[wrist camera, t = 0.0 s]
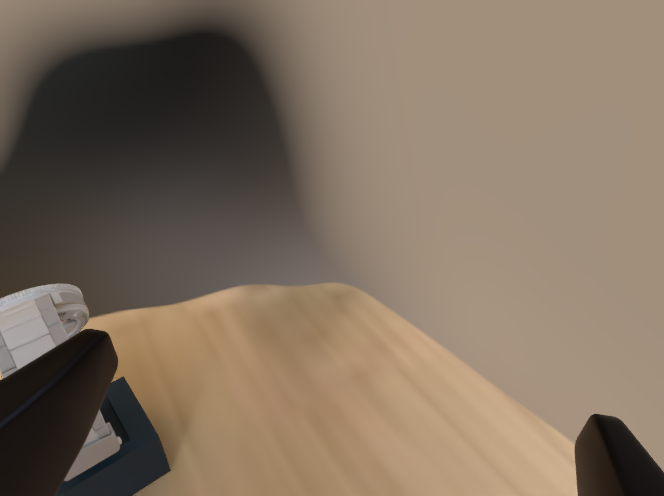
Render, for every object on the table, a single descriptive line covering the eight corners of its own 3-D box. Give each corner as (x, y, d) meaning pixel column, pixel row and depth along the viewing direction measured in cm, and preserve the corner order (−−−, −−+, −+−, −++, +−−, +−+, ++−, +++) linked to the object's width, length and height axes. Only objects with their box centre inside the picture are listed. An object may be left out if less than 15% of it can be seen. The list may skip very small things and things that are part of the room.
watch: (123, 388, 28) (64, 236, 22) (186, 497, 23) (134, 345, 17) (17, 444, 25) (-90, 289, 19) (64, 582, 21) (-58, 439, 14)
